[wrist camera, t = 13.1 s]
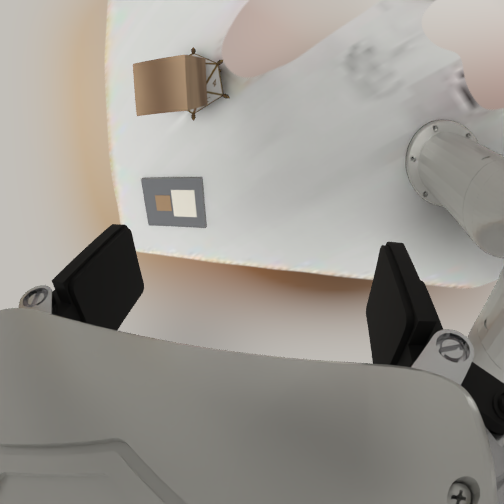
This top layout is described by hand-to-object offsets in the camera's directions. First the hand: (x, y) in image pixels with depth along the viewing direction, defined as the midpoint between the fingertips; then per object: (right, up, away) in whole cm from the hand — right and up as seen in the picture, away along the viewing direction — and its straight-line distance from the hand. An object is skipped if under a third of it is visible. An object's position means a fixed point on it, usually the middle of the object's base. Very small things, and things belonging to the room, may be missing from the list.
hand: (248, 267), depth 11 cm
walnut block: (-7, +19, +19) cm, 28 cm away
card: (-12, +8, +36) cm, 39 cm away
